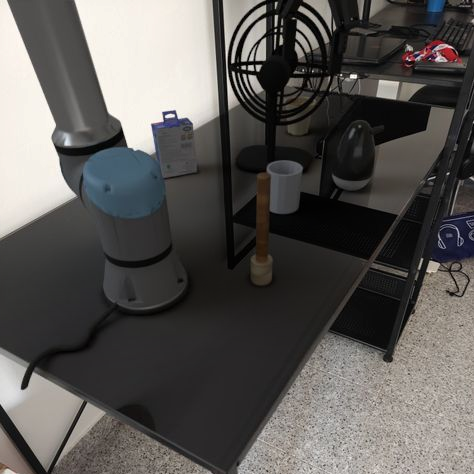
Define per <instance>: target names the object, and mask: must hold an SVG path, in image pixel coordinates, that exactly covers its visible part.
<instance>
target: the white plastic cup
mask: <svg viewBox="0 0 474 474" xmlns="http://www.w3.org/2000/svg"><path fill="white" fill-rule="evenodd" d="M302 170H303V167H302V166H301V165H300V164H299V163H297V162H293V161H286V160H282V161H275V162H272V163H270V164H269V165H268V166H267V172H266V173H269V174H271V193H270V213H273V214H277V215H288V214H293V213H295V212H296V211H298V210H299V208H300V201H301V193H302V192H301V190H302V180H303V172H302Z"/></svg>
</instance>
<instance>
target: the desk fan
mask: <svg viewBox="0 0 474 474" xmlns="http://www.w3.org/2000/svg"><path fill="white" fill-rule="evenodd" d="M273 3H278V0H262V1H260V2H258V3H257V4H255V5H254V6H253V7H252V8H251V9H249V10H248V11H247V12H246V13H245V14H244V15H243V16H242V17H241V19H240V20H239V22H238V23H237V25H236V27H235V29H234V31H233V33H232V35H231V38H230V41H229V45H228V50H227V61H226V66H227V75H228V80H229V84H230V87H231V90H232V92H233V94H234V96H235V98H236V100H237V102H238V103H239V105H240V106H241V107H242V108H243V109H244V111H245V112H247V113H248V114H249V115H250V116H251V117H253V118H254V119H255V120H258V121H259V122H261V123H263V124H266V125H267V127H268V128H267V144H255V145H248V146H246V147H243V148H242V149H240V151H239V152H238V154H237V156H236V158H235V164H236V166H237V167H239V168H241V169H243V170H246V171H249V172H257V173H267V166H268V165H269V164H270V163H272V162H275V161H282V160H286V161H293V162H297V163H299V164H300V165H301V166H302V167H303V170H302V173H303V172H305V171H306V170H308V168H309V166H310V163H311V160H312V154H311V153H310V152H309V151H307V150H305V149H302V148H298V147H294V146H293V147H292V146H281V145H276V143H277V142H276V140H277V126H278V127H284V126H287V125H291V124H295V123H298V122H300V121H302V120H304V119H306V118H307V117H309V116H310V115H311V114H312V115H313V114H314V113H315V112H316V111H317V110H318V109H319V108H320V106H321V105H322V104H323V103H324V101H325V100H326V98H327V97H328V94H329V92H330V90H331V88H332V85H333V82H334V79H335V76H336V75H337V74H335V75H327V72H328V51H327V45H326V42H325V39H324V36H323V34H322V32H321V29H320V28H319V26H318V25H317V24H316V22H314V20H313V19H312V18H311V17H310V16H309V15H307V14H305V13H304V12H302V11H300V10H298V11H297V13H296V16H297V17H296V18H294V19H297V21H299V22H300V23H302V24H303V25H305V26H306V27H307V28H308V29H309V31H310V32H311V34H312V35H313V36H314V38H315V40H316V42H317V44H318V47H319V52H320V57H321V63H315V55H314V50H313V46H312V44H311V41H310V40H309V38H308V36H307V35H306V34H305V33H304V32H303V31H302V30H301V29H299V28H298V27H297V30H296V33H298V34H299V35H301V36H302V37H303V39H304V40H305V41H306V43H307V45H308V47H309V51H310V57H311V62H310V61H309V57H308V54H307V51H306V49H305V47H304V45H303V44H302V43H301V42H300V40H299V39H297V38H296V43H295V44H297V45H298V46H299V48H300V50H301V52H302V53H303V55H304V58H305V62H304V61H299V55H298V52H297V50H296V49H295V56H294V59H291V60H285V61H283V60H282V46H283V43H282V44H280V43H281V36H282V26H283V19H282V17H281V15H280V14H277V13H276V8H273V9H270V10H267V11H266V12H264V13H262V14H261V15H259V16H258V17H257V18H256V19H255V20H254V21H252V22H251V23H250V24H249V25H248V26H247V27H246V28H245V30H244V31H243V33H242V34H241V36H240V38H239V40H238V43H237V44H236V45H237V46H236V49H235V53H234V60H233V62H232V59H233V57H232V56H233V50H234V45H235V41H236V38H237V36H238V34H239V31H240V30H241V28H242V26H244V23H245V22H246V21H247V19H249V17H250V16H251V15H252V14H253V13H255V12H256V11H257V10H259V9H261V8H262V7H265V6H267V5H270V4H273ZM283 5H285V4H283ZM300 7H302V8H303V9H305V10H307V11H308V12H310V13H311V14H312V15H313V16H314V17H315V18H316V19H317V20H318V22H319V23H320V24H321V26H322V28H323V29H324V31H325V34H326V36H327V39H328V42H329V46H330V47H331V41H332V32H331V29H330V28H329V25H328V23H327V22H326V20H325V18H324V17H323V16H322V15H321V13H320V12H319V11H318V10H317V9H315V8H314V7H313V5H311V4H309V3H308V2H306V1H304V0H303V2H302V4H301V5H300ZM273 16H274V17H275V16H277V19H276V20H277V22H276V26H273V27H272V28H270V29H268V30H267V31H266V32H265V33H264V34H263V35H262V36H261V37H260V38H259V39H257V40H256V42H254V44H253V45H252V47H251V48H250V50H249V52H248V55H247V57H246V60H243V61H242V57H243V51H244V46H245V42H246V40H247V38H248V36H249V34H250V32H251V30H252V29H253V28H254V27H255V26H256V25H257V24H258V23H259V22H261V21H262V20H264V19H267V18H270V17H273ZM275 30H276V31H275ZM271 36H275V45H274V49H273V51H272V52H271V55H270V56H268V57H267V58H266V59H264V60H256V59H257V52H258V49H259V46H260V45H261V42H262V41H263V40H264V39H266V38H268V37H271ZM253 51H254V52H253ZM252 53H253V59H252V60H250V59H251V56H252ZM249 66H253V70H250V69H249ZM257 66H260V67H259V71H258V70H257ZM243 67H245V69H244V68H243ZM298 67H302V68H306V72H305V73H303V72H302V73H300V72H299V73H298V72H297V73H295V72H296V70H297V68H298ZM314 69H319V70H321V72H313V71H314ZM233 73H234V75H233ZM244 75H245V77H244ZM249 76H254V77H255V78H256V80H257V82H258V84H259V85H260V87H261V89H262V90H263V91H264V92H266V93H267V94H268V96H269V97H268V101H266V100H264V99H263V98H262V97H260V96H259V95H258V94H257V93H256V91H255V89H254V88H253V85H252V83H251V81H250V77H249ZM245 78H246V81H245ZM325 78H329V80H328V84H327V86H326V88H325V91H324V93H323V95H322V96H321V97H320V99H319V101H318V102H316V104H315V105H314V107H313V108H312V109H311V110H310V111H309V112H307V113H306V114H304V115H303V116H301V117H299V118H296V119H293V120H289V121H287V120H285V119H287V118H290V117H293V116H295V115H297V114H299V113H301V112H302V111H304V110H305V109H306V108H307V107H308V106H309V105H310V104H311V103H312V102H313V100H316V98H317V96H318V94H319V93H320V90H321V88H322V86H323V83H324V80H325ZM234 79H235V80H234ZM291 79H305V81H304V83H303V84H302V86H301V87H299V88H298V89H296V90H295V91H293V92H290V93H285V88H286V86H288V83H289V82H290V80H291ZM310 79H319V83H318V85H317V88H316V90H315V91H314V92H313V93H312V94H311V96H310V97H309V99H308V100H307V101H306V102H305V103H303V104H302V105H300V106H298V107H296V108H293V109H290V110H286V109H284V110H283V107H285V106H286V105H288V104H290V103H292V102H294V101H295V100H296V99H297V98H298V97H301V95H302V94H303V92H304V90H305V88H306V86H307V84H308V83H309V81H310ZM246 82H247V83H246ZM247 85H248V86H247ZM248 87H249V88H248ZM296 94H297V95H296ZM294 95H296V96H294ZM293 96H294V97H295V98H294V99H292V100H291V101H289V102H287V103H284V98H289V97H293ZM278 99H279V103H278ZM252 102H253V103H254V104H255V105H254V104H253V103H252ZM263 110H264V111H263ZM288 113H290V114H288ZM312 115H311V116H312Z"/></svg>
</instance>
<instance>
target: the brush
mask: <svg viewBox="0 0 474 474" xmlns="http://www.w3.org/2000/svg"><path fill="white" fill-rule="evenodd" d="M270 193H271V174H269V173H267V172H258V173H257V174H256V213H255V215H256V216H255V217H256V219H255V220H256V221H255V222H256V223H255V254H253V255H252V256H251V257H250V281H251V283H252V284H254V285H256V286H266V285H269V284H270V283H271V282H272V280H273V264H274V263H273V257H272V256H271V254H269V240H270V239H269V238H270V237H269V236H270V215H271V214H270V213H271V211H270Z"/></svg>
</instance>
